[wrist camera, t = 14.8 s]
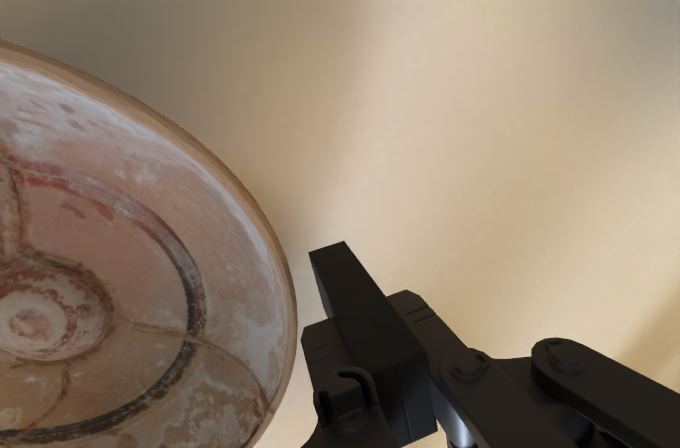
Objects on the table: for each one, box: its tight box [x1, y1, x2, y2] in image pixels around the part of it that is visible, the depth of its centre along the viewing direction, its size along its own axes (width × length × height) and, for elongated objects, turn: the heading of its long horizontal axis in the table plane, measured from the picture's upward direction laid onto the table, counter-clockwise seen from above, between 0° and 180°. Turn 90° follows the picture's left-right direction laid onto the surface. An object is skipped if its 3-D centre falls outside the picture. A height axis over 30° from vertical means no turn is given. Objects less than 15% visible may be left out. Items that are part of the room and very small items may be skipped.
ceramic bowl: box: [0, 40, 298, 448], centre depth 14 cm, size 23×24×5 cm
